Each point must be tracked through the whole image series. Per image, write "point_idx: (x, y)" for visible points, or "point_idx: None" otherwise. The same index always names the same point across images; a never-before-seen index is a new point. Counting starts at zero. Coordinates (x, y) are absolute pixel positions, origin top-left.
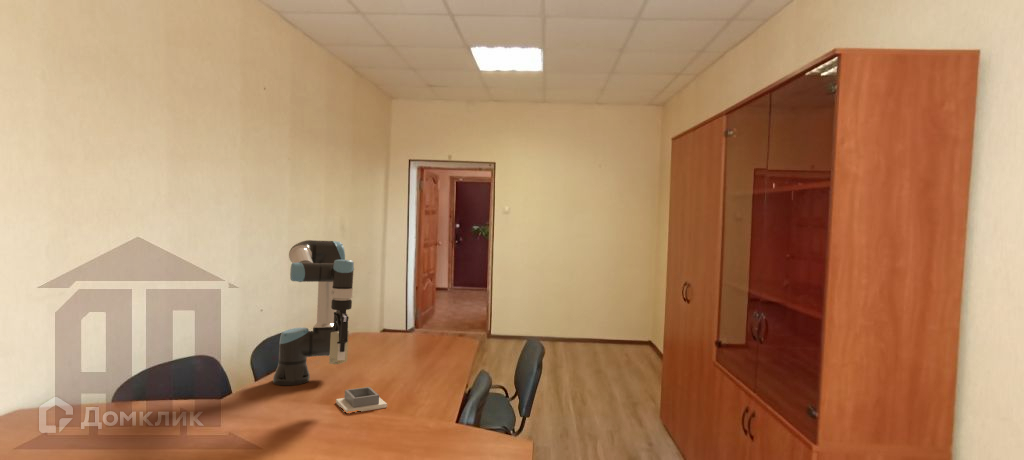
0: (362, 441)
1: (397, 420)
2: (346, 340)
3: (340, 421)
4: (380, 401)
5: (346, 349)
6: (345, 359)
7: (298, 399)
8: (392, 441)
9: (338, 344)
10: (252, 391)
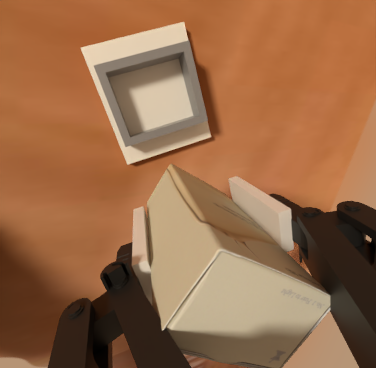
0: (342, 102)
1: (274, 12)
2: (365, 211)
3: (246, 144)
4: (162, 40)
5: (195, 187)
6: (186, 173)
7: (95, 246)
8: (363, 45)
9: (289, 245)
10: (31, 343)
